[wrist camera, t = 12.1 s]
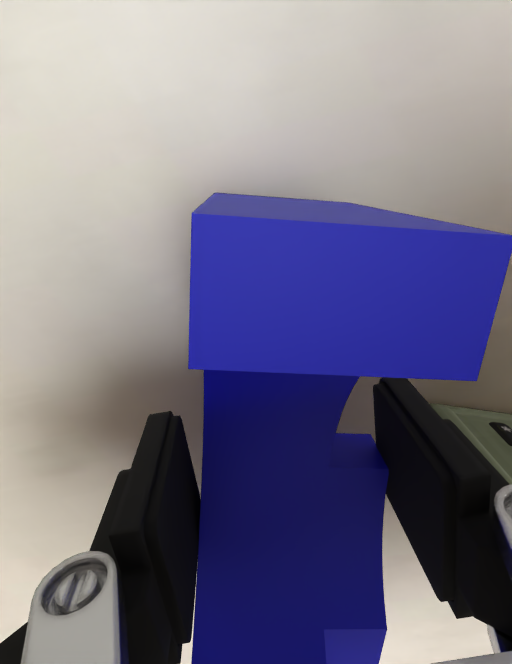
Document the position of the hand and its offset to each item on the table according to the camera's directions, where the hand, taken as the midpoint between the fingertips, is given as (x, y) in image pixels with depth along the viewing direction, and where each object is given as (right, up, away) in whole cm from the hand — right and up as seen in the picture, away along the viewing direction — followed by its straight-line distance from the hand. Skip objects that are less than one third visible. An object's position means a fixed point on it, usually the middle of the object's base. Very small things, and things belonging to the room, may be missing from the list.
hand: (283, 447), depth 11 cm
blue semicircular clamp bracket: (0, 0, +1) cm, 1 cm away
